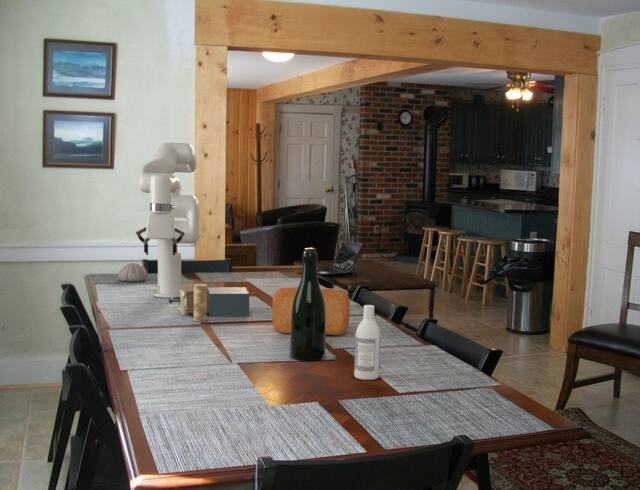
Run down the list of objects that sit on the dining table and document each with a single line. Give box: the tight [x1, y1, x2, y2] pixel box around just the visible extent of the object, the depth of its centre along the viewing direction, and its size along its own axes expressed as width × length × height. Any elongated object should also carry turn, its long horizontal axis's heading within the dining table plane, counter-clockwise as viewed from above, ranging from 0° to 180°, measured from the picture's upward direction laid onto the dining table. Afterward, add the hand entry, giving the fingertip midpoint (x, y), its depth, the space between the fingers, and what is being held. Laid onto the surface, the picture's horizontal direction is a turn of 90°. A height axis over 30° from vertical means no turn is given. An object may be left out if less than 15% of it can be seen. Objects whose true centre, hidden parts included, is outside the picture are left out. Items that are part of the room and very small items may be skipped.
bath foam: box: [353, 304, 382, 381], centre depth 219 cm, size 7×7×20 cm
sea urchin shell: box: [117, 262, 149, 283], centre depth 372 cm, size 13×14×8 cm
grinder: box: [193, 283, 208, 323], centre depth 287 cm, size 5×5×13 cm
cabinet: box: [207, 286, 250, 318], centre depth 303 cm, size 15×15×9 cm
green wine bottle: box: [289, 247, 326, 362], centre depth 238 cm, size 10×10×33 cm
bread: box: [271, 286, 351, 336], centre depth 277 cm, size 16×26×17 cm
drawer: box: [168, 289, 209, 315], centre depth 300 cm, size 18×13×7 cm
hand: (160, 254), depth 295 cm, fingers open, 9 cm apart
